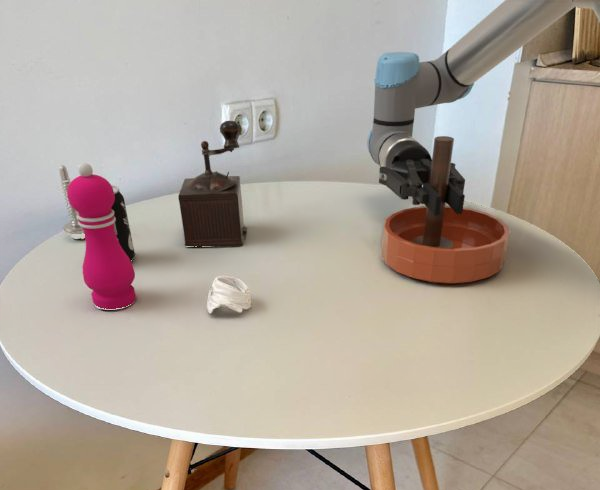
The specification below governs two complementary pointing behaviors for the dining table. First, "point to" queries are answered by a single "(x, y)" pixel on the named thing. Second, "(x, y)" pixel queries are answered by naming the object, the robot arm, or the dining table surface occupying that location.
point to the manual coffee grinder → (214, 200)
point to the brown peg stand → (440, 185)
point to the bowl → (444, 261)
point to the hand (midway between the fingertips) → (449, 205)
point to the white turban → (228, 294)
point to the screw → (73, 225)
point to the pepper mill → (101, 241)
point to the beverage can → (122, 224)
